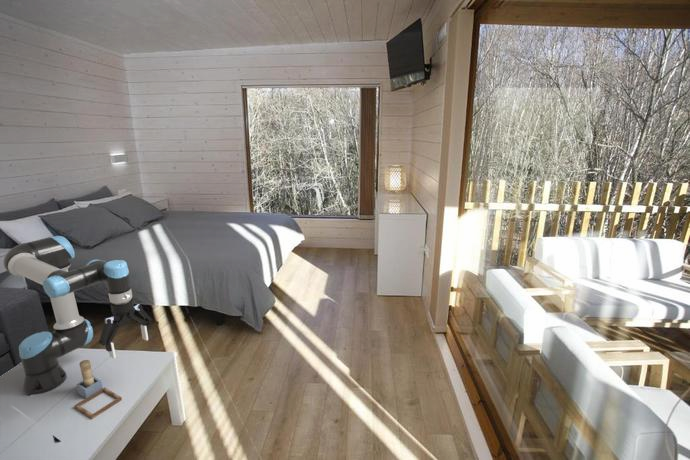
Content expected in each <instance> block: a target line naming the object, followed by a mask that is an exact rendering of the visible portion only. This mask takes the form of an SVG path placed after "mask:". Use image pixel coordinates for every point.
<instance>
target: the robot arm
mask: <svg viewBox="0 0 690 460" xmlns="http://www.w3.org/2000/svg"><path fill="white" fill-rule="evenodd" d="M73 247H74V246H73V245H72V244H71V243H70V241H69V240H68V239H67V238H66V237H65V236H62V235H56V236H48V237H45V238H41V239H37V240H32V241H28V242H24V243H21V244H17V245H15V246H14V247H12V248H11V249H10V250H8V251H7V253H6V254H5V255H4V259H3V266H4V269H5V270H6V271H7V272H8V273H9V274H11V275H13V276H16V277H25V278H26V279H28V280H31V281H33V282H35V283H37V284H40V285H41V286H42V288H43V290H44V292H45V294H46V295H47V296H48V297H49V298H50V302H51V306H52V310H53V314H54V318H55V321H56V322H55V323H54V325H53V326H52V327H53V331H51V332H50V331H41V332H36V333H34V334H32V335H31V334H30V335H29V336H27V337H25V339H23V340H22V341H21V343H20V344H19V346H18V353H19V358H20V360H21V363H22V368H23V370H24V374H25V375H24V376H25V377H24V382H23V391H24V394H26V395H27V396H35V395H42V394H45V393H49V392H51V391H53V390H56V388H58V387H60V386H61V385H62V384H63V383H64V382H65V381H66V380H67V377H68V376H67V372H66V370H65V369H64V368H63V367H62V366H61V364H60V363H59V360H58V359H59V358H61V357H63V356H65V355H68V354H69V353H72V352H74V351H76V350H77V349H80V348H82V347H84V346H86V345H88V344H89V343H90V342H91V341H92V339H93V337H94V329H93V326H92V325H91V322H90V321H89V320H88V319H86V318H84V317H83V316H82V315H80V314H79V310H78V305H77V301H76V298H75V296H76V295H75V293H74V292H76V291H79V290H82V289H85V288H88V287H90V286H93V285H96V284H99V283H103V284H106V288H107V292H108V297H109V302H110V309H111V313H112V316H110V317H104V319H103V322H104V323H103V327H102V330H101V333H100V337H99V341H98V344H99V345H101V346H105V350H106V352H108V353H109V357H110V358H112V359H116V358H117V356H116V350H115V346H114V342H113V341H114V338H115V336H116V334H117V332H118V330H119V328H121V326H122V325H124V324H126V323H127V322H130V321H131V320H132V319H133V320H135V321H136V322H139V323H140V331H141V338H142V340H144V341H146V342H147V341H149V335H148V332H149V326H150V324H151V323H152V321H153V319H152V317H150V315H149V314H148V313H147V312H146V311H145V310H144V307H143V305H141V304H139V303H136V304H134V299H133V291H132V285H131V277H130V271H129V270H130V269H129V268H128V263H127V262H126V261H125V260H123V259H114V260H109V261H106V260H101V259H92V260H90V261H88V263H86V264H85V266H81V267H79V268H75V269H72V270H69V269H70V267H71V265H72V263H71V260H73V259H74V258H75V255H76V253H75V249H74V248H73ZM136 311H137V312H138V313H139V315H141V317H143V319H142V318H141V317H138V316H137V315H135V312H136Z"/></svg>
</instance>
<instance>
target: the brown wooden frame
mask: <svg viewBox="0 0 690 460" xmlns="http://www.w3.org/2000/svg"><path fill="white" fill-rule="evenodd" d="M103 393H105V394H107V395H108V396H111V398H112V397H113V398H114V400H112V401H111V402H109V403H107V404H106V405H105V406H102V407H101V408H99V409H98V410H97V411H95V412H93V413H91V412H90V411H88V410H87V409H86V408H84V407H82V406H84V405H85V404H87V403H88V402H89V403H90V401H91V400H94V398H96V397H99V396H100V395H102V394H103ZM121 401H123V400H122V397H121V396H120V395H118V394H116V393H115V392H113V391H111V390H110V389H108V388H107V387H103V389H101V390H99V391H98V392H96V393H94V394H93V395H91V396H89V397H88V398H84V399H83V400H81V401H79V402H78V403H76V404H75V405H74V408H75V409H76V410H77V411H79V412H81V413H82V414H84V416H87V417H88V418H89V419H91V420H93V419H95V418H96V417H99V415H101V414H103V413H104V412H106V411H108V410H109V409H110V408H112V407H113V406H114V405H117V404H119V403H120V402H121Z"/></svg>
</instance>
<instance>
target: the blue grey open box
mask: <svg viewBox="0 0 690 460" xmlns="http://www.w3.org/2000/svg"><path fill="white" fill-rule="evenodd" d="M93 378H94V384H92V385H91V386H89V387H87V388H85V386H84V382H83V380H82V381H80V382H78V383H76V389H77V390H76V391H77V393H78V395H80V396H82V397H83V398H84V399H86V398H88V397H89V396H91V395H93V394H94V393H96V392H98V391H99V390H101V389H103V388H104V387H103V384H102V383H103V382H102V380H100V379H99V378H98V377H95V376H94V375H93Z"/></svg>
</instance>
